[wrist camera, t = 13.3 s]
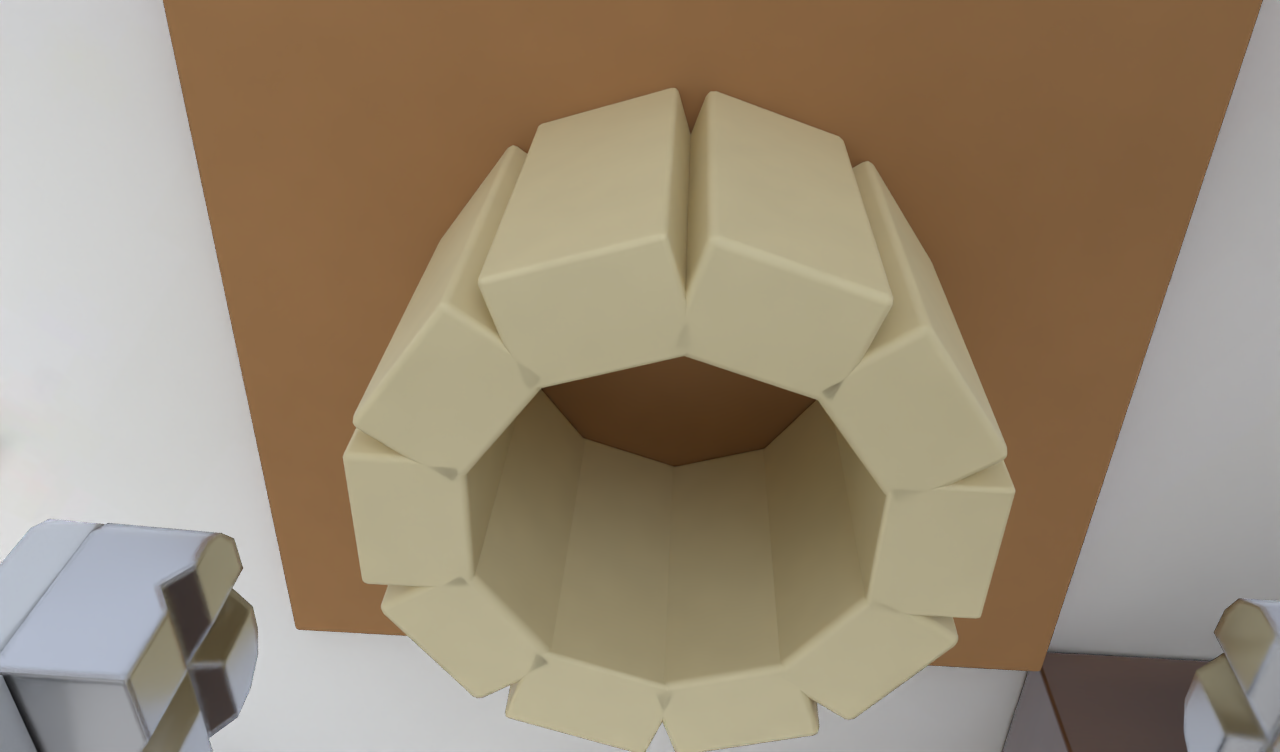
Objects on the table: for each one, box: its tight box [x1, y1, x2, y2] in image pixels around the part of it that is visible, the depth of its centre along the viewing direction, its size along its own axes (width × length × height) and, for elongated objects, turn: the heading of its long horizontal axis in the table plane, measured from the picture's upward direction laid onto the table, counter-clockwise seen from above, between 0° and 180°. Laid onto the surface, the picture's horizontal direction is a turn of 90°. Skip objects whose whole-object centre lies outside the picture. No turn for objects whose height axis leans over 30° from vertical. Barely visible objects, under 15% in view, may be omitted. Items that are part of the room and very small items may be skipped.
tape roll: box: [343, 88, 1015, 752], centre depth 12 cm, size 6×7×4 cm
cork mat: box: [163, 0, 1263, 671], centre depth 14 cm, size 12×12×1 cm
